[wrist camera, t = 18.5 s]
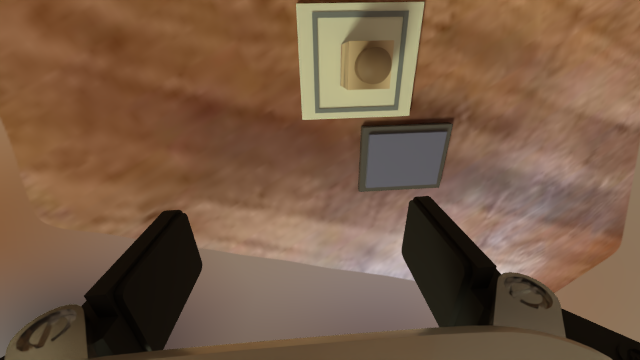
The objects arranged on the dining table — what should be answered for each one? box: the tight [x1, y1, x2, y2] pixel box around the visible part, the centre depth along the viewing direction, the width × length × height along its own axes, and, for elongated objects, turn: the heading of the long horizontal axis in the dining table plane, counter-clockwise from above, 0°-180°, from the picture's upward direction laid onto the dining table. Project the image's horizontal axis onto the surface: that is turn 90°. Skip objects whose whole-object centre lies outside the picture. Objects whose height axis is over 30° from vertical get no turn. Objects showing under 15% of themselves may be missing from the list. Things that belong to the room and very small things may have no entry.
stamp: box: [340, 40, 394, 90], centre depth 29 cm, size 5×5×8 cm
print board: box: [296, 2, 424, 120], centre depth 33 cm, size 16×14×1 cm
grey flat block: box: [358, 123, 453, 192], centre depth 39 cm, size 14×11×2 cm
